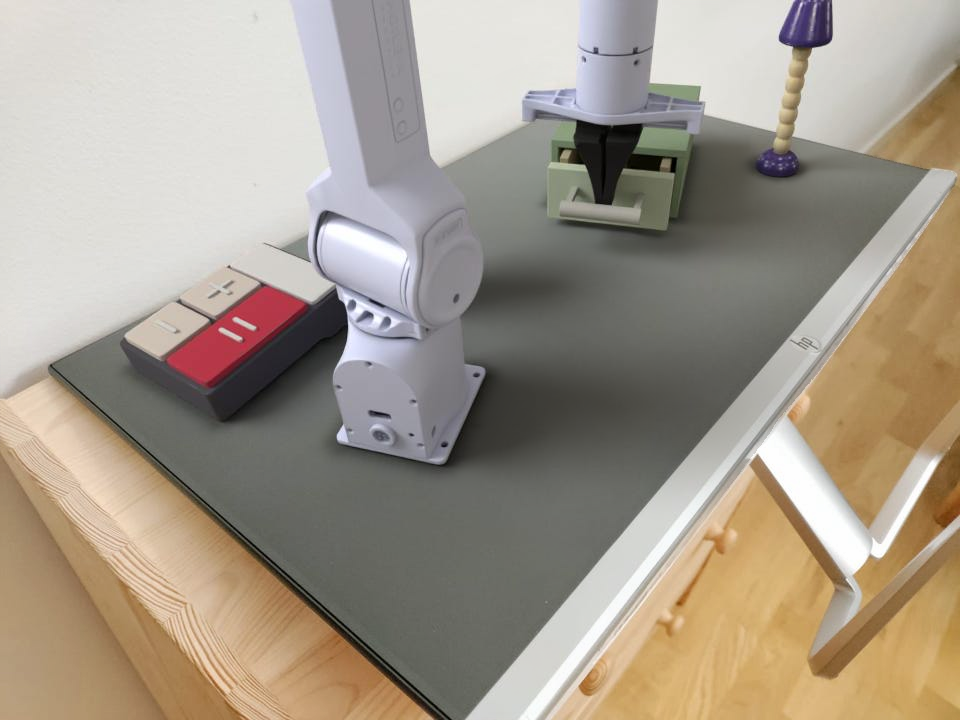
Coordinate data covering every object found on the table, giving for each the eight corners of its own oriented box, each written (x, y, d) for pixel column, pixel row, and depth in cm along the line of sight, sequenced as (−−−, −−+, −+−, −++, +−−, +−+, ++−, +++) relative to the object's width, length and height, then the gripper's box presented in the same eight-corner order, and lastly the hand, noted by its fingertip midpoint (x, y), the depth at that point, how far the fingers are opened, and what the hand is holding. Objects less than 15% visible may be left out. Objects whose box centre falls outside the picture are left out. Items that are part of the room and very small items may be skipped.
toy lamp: (742, 167, 75) (778, -5, 64) (766, 151, 77) (804, -17, 66) (784, 181, 72) (828, 4, 61) (808, 165, 74) (855, -8, 63)
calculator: (111, 334, 53) (259, 233, 62) (135, 374, 56) (274, 273, 65) (203, 389, 48) (352, 270, 56) (225, 429, 51) (363, 311, 59)
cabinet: (676, 218, 68) (686, 150, 63) (550, 204, 71) (551, 139, 67) (691, 147, 79) (701, 85, 74) (581, 138, 82) (584, 78, 77)
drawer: (660, 256, 62) (667, 203, 58) (535, 241, 65) (535, 190, 61) (682, 160, 75) (689, 112, 71) (578, 151, 78) (580, 104, 74)
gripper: (717, 30, 55) (692, 188, 64) (536, 23, 59) (536, 173, 68) (710, 62, 50) (684, 229, 59) (513, 52, 54) (517, 210, 63)
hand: (604, 202), depth 63 cm, fingers closed, pressing on drawer
